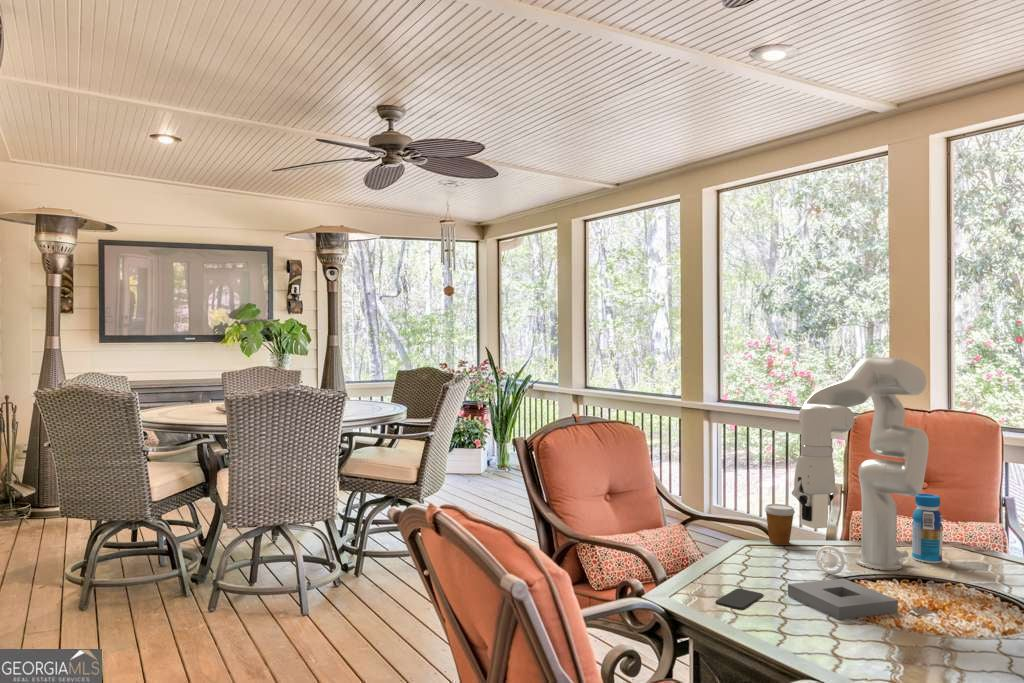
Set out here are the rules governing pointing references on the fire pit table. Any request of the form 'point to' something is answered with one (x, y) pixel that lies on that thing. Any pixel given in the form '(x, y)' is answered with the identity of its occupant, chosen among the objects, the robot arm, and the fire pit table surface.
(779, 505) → the disposable coffee cup
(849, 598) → the socket plate
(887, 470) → the robot arm
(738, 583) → the fire pit table surface
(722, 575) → the fire pit table surface
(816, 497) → the plug
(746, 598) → the phone
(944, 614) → the fire pit table surface
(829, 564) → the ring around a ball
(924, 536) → the beverage bottle
